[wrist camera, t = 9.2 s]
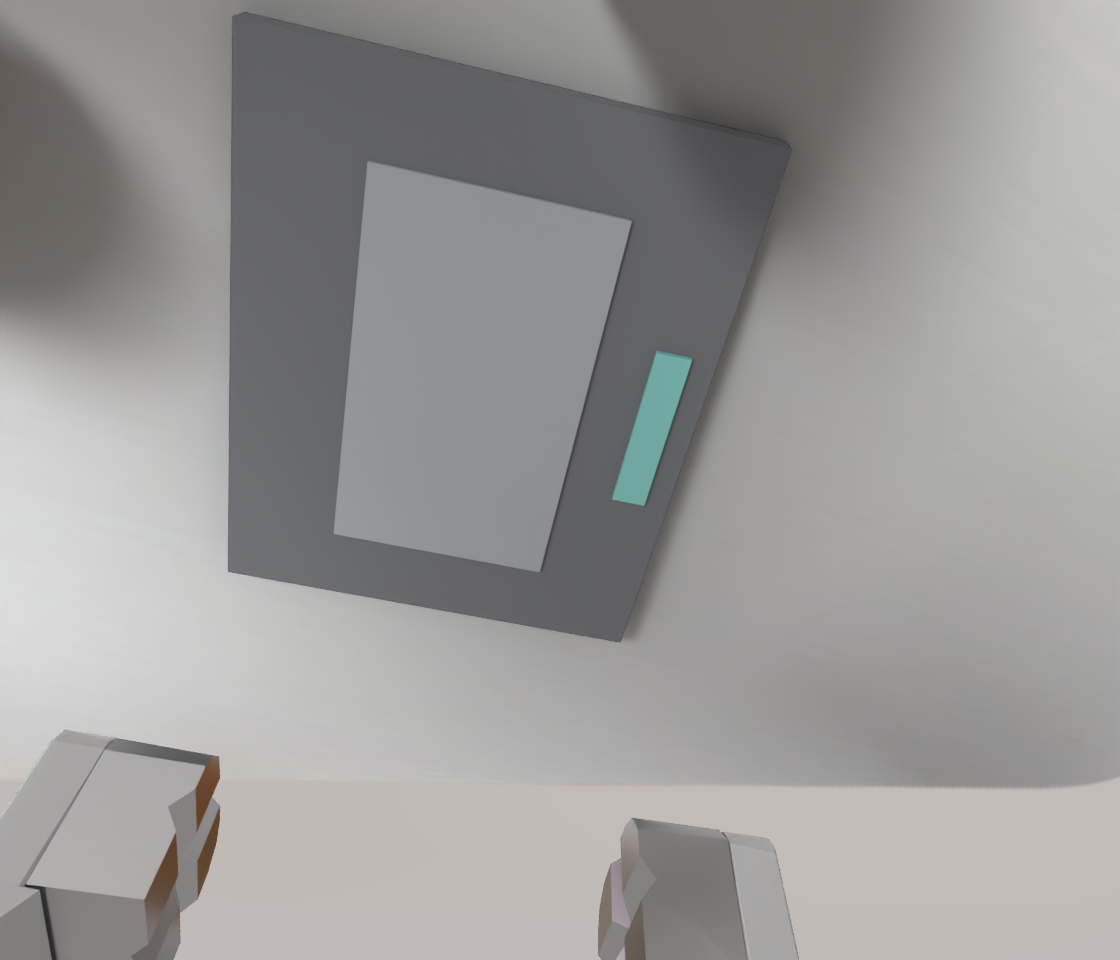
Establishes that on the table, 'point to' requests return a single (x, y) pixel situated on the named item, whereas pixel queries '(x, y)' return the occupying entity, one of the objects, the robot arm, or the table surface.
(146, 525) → the table surface
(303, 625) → the table surface
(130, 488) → the table surface
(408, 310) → the charging mat
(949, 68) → the table surface
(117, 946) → the robot arm
